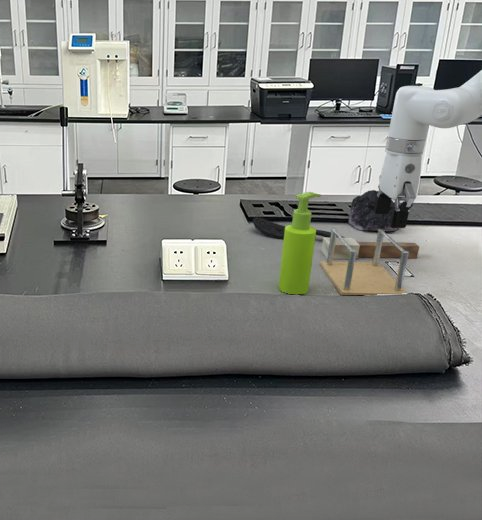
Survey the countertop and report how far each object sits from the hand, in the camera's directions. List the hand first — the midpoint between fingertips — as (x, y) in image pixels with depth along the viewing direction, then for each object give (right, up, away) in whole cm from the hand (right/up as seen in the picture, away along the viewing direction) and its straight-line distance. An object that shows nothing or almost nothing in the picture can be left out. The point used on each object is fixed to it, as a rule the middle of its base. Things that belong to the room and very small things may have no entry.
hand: (389, 220), depth 122 cm
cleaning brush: (-3, -8, +3) cm, 9 cm away
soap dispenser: (-26, -15, -13) cm, 33 cm away
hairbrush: (-16, -3, +15) cm, 22 cm away
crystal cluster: (+7, 0, +23) cm, 24 cm away
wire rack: (-10, -13, -9) cm, 19 cm away
